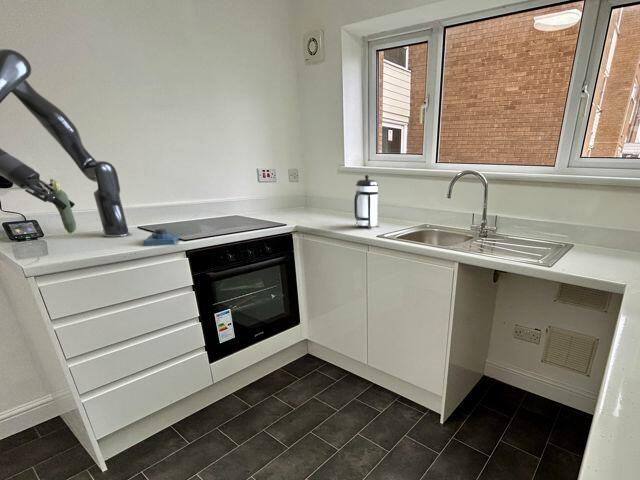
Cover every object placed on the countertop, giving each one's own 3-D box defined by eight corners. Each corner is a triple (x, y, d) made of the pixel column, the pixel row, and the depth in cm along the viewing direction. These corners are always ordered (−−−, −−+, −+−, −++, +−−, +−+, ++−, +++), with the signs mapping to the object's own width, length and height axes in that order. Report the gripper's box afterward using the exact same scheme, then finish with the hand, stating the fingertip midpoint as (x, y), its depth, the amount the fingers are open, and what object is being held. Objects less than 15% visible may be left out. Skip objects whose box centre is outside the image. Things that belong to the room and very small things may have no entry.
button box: (151, 239, 162) (150, 230, 160) (179, 238, 166) (177, 229, 164) (145, 245, 150) (142, 236, 148) (174, 244, 154) (172, 235, 153)
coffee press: (351, 225, 217) (350, 173, 206) (376, 224, 220) (377, 174, 210) (354, 230, 201) (354, 175, 190) (382, 229, 205) (382, 175, 194)
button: (157, 233, 158) (155, 228, 157) (167, 233, 159) (166, 228, 158) (155, 235, 154) (154, 230, 153) (165, 234, 156) (164, 230, 155)
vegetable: (81, 233, 134) (65, 178, 127) (68, 235, 130) (50, 179, 123) (74, 232, 135) (57, 178, 128) (60, 234, 132) (42, 178, 124)
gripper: (8, 163, 115) (65, 201, 123) (35, 163, 128) (85, 197, 136) (-6, 180, 116) (51, 217, 124) (22, 178, 128) (73, 211, 136)
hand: (69, 206), depth 130 cm, fingers closed on vegetable, 4 cm apart
